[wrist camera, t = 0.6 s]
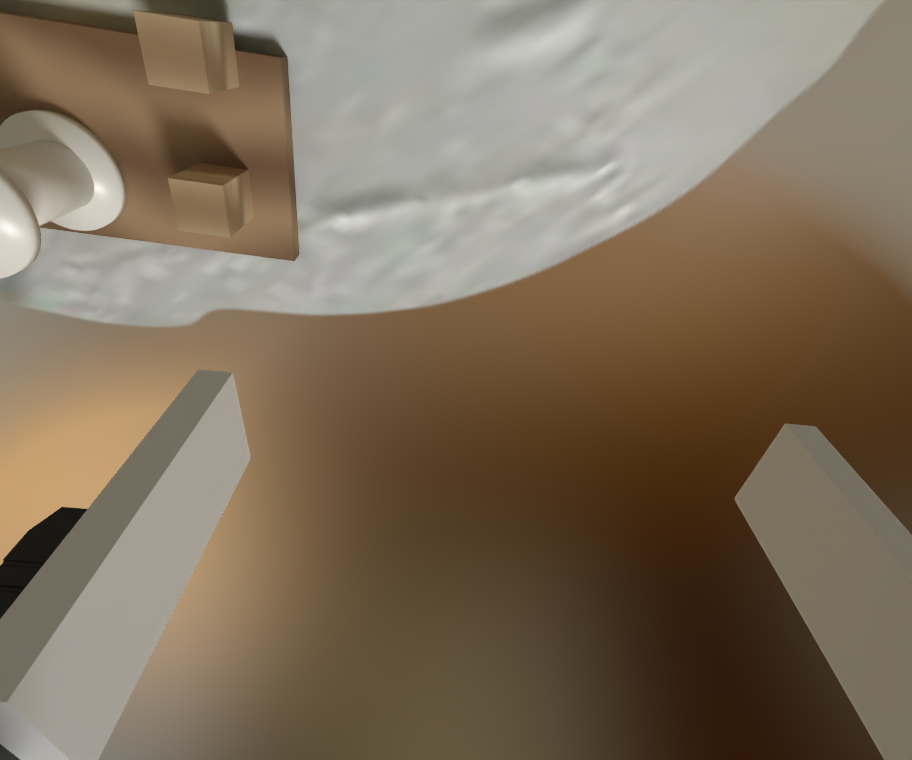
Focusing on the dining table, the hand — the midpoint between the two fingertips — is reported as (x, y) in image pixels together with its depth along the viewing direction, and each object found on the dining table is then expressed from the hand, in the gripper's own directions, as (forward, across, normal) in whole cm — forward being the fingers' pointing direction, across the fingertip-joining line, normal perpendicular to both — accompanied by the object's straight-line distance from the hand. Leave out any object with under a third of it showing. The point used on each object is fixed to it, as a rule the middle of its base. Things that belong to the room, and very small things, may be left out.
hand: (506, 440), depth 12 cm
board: (+24, -22, 0) cm, 33 cm away
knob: (+23, -26, -2) cm, 35 cm away
